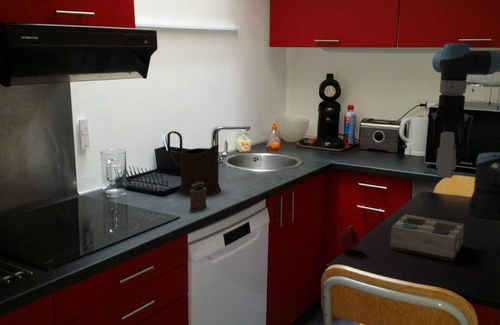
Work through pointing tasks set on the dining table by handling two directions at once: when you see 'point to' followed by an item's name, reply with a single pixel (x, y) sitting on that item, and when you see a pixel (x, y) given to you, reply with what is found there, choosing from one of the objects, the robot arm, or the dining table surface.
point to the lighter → (198, 197)
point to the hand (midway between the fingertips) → (445, 167)
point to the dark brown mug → (197, 168)
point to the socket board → (427, 237)
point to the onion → (349, 238)
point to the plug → (446, 154)
